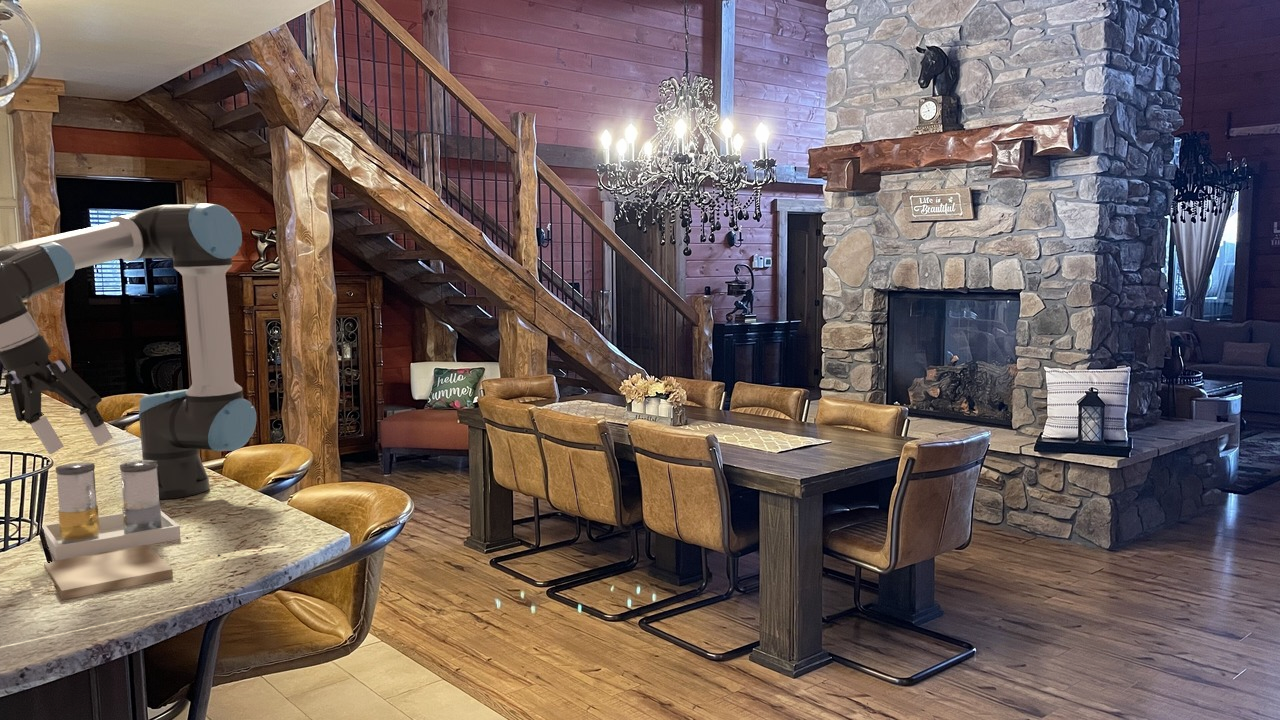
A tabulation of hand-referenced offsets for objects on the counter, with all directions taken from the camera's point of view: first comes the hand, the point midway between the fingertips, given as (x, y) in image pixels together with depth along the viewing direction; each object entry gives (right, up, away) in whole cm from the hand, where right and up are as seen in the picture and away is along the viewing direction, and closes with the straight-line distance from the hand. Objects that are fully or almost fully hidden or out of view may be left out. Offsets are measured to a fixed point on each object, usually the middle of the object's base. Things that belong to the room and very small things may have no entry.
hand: (80, 446), depth 176 cm
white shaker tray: (+3, -19, +5) cm, 19 cm away
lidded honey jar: (-2, -18, +4) cm, 18 cm away
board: (+12, -20, -13) cm, 27 cm away
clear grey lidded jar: (+9, -17, +5) cm, 20 cm away
